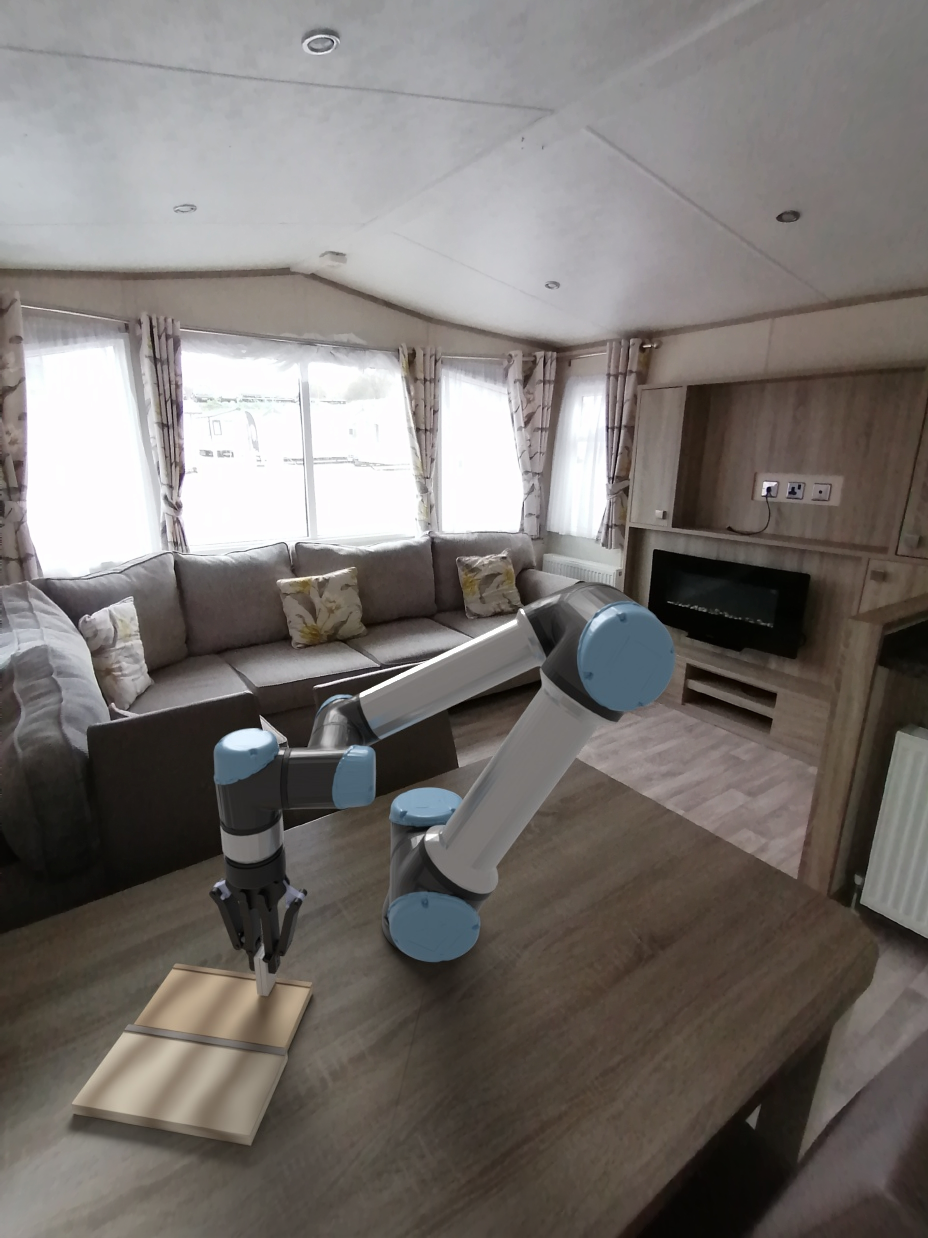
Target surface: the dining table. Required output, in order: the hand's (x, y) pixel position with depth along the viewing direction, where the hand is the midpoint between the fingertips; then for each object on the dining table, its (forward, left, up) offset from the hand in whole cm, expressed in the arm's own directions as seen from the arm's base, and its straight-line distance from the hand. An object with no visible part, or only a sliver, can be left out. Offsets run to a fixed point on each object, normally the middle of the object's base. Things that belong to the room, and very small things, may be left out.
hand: (267, 987), depth 86 cm
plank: (+5, +3, -2) cm, 6 cm away
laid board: (+5, +13, -2) cm, 14 cm away
